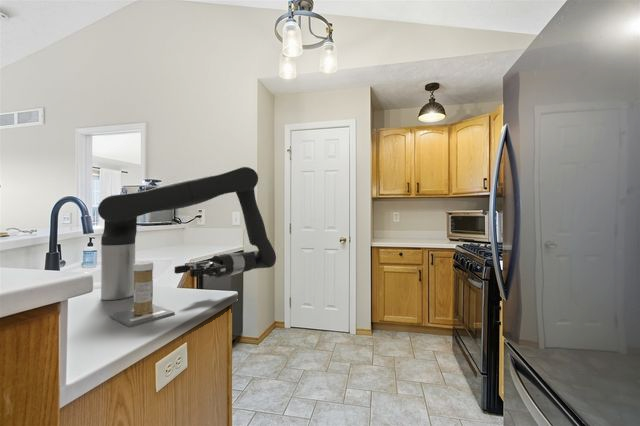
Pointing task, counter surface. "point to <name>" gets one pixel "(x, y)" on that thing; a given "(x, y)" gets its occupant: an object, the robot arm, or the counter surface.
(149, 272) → the spice jar
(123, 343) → the counter surface
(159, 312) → the letter mat
